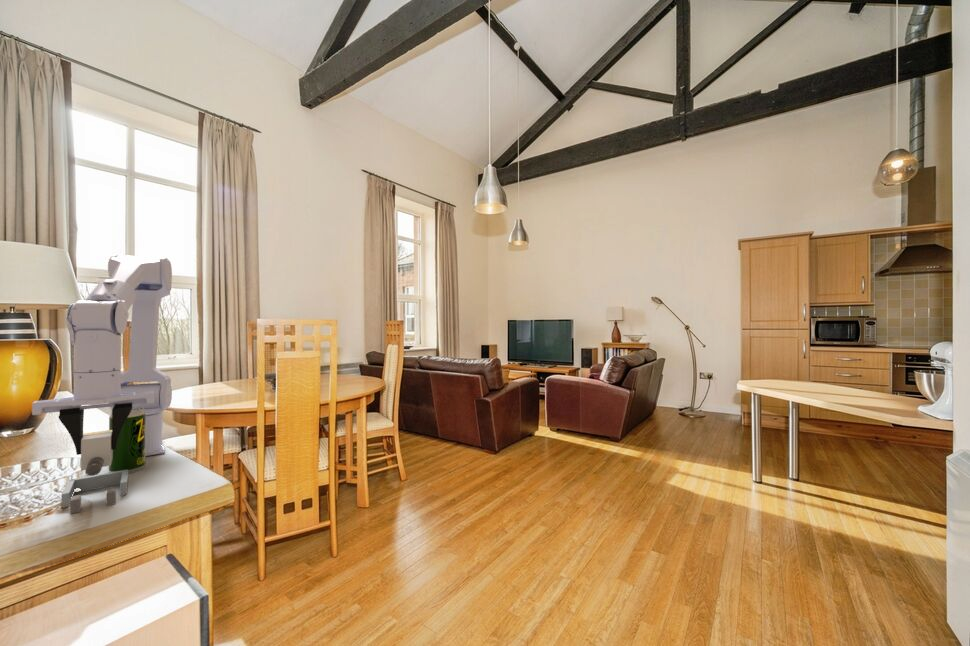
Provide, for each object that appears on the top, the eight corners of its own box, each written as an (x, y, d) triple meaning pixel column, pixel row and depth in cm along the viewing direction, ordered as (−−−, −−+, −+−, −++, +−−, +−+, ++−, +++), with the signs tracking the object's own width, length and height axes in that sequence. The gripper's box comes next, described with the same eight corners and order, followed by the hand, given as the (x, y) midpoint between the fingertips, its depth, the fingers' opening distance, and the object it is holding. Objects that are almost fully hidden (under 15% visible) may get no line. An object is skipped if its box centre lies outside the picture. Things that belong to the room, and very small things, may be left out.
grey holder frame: (68, 492, 67) (68, 479, 67) (128, 481, 72) (128, 469, 72) (57, 516, 59) (57, 502, 59) (125, 501, 64) (125, 488, 64)
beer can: (105, 477, 74) (105, 414, 74) (112, 468, 78) (112, 408, 78) (142, 471, 77) (143, 411, 77) (147, 463, 81) (147, 406, 81)
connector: (84, 462, 67) (84, 433, 67) (112, 457, 70) (112, 429, 70) (76, 479, 60) (76, 447, 60) (108, 474, 62) (108, 442, 62)
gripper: (27, 377, 59) (27, 467, 59) (154, 370, 68) (153, 447, 68) (37, 372, 64) (37, 454, 64) (153, 366, 74) (152, 438, 74)
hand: (97, 450), depth 66 cm, fingers closed on connector, 3 cm apart
